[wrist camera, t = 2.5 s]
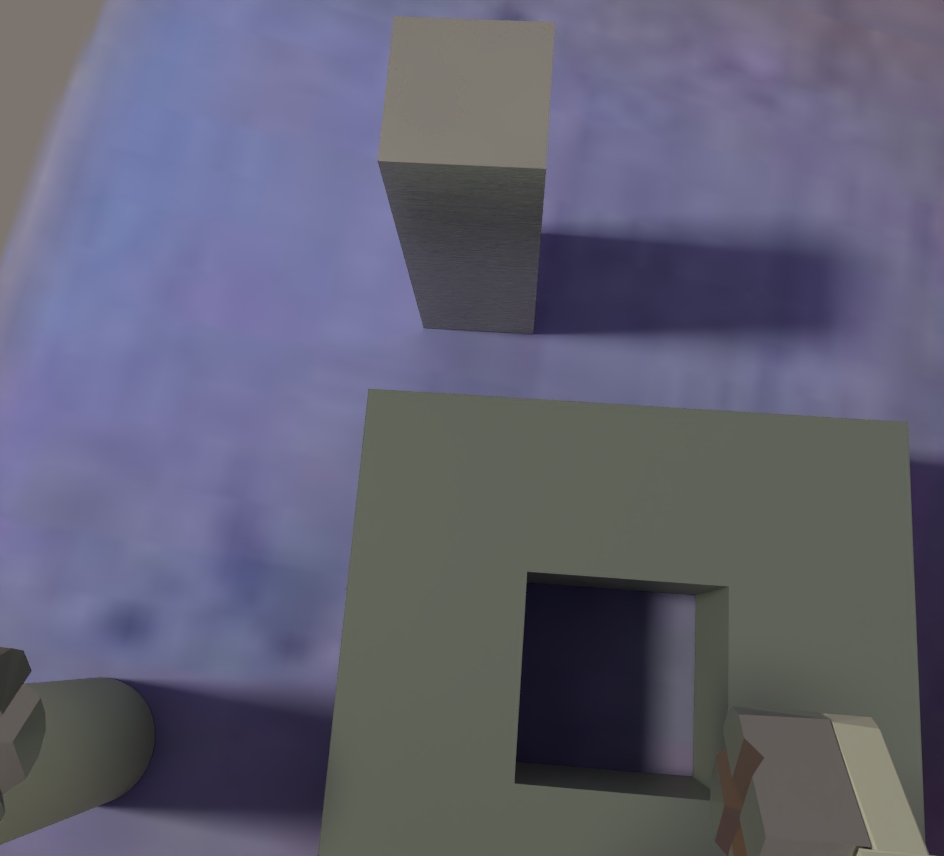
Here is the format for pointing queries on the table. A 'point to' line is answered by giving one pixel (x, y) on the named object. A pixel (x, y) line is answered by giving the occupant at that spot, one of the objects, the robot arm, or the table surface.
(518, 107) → the square bit
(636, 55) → the table surface
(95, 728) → the round bit
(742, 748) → the robot arm
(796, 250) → the table surface
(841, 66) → the table surface
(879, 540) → the socket block
